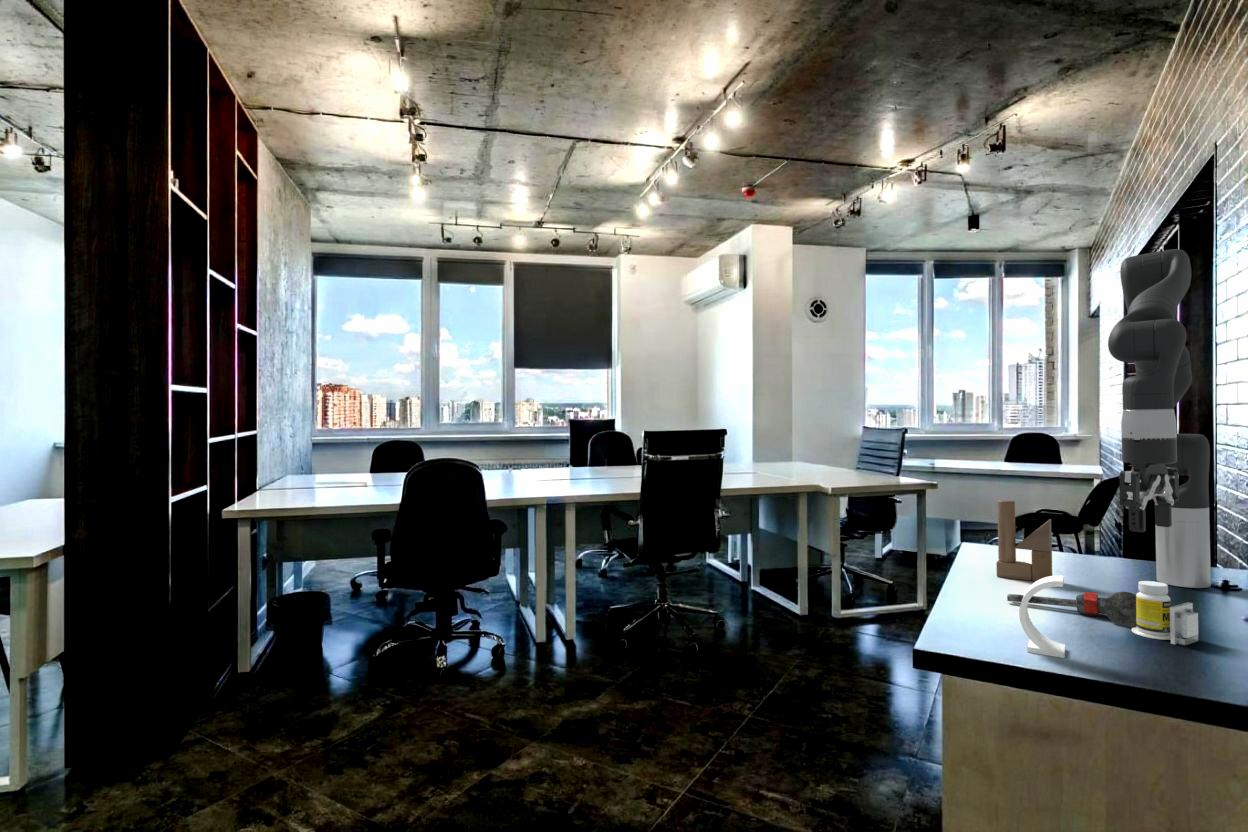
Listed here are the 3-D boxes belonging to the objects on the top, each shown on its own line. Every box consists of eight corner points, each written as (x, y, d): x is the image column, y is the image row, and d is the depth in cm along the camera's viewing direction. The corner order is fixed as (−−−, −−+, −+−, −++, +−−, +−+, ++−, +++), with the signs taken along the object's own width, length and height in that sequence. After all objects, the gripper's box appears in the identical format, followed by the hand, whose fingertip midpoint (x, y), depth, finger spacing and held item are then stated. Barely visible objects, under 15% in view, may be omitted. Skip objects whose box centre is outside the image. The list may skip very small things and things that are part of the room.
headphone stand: (1064, 658, 104) (1062, 581, 104) (1019, 650, 107) (1018, 576, 107) (1065, 649, 108) (1064, 575, 108) (1022, 642, 111) (1020, 571, 111)
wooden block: (1050, 583, 149) (1048, 503, 149) (996, 577, 156) (994, 500, 156) (1052, 580, 152) (1051, 502, 152) (999, 574, 159) (998, 499, 159)
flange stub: (1189, 637, 112) (1188, 602, 112) (1202, 640, 111) (1201, 604, 111) (1170, 643, 110) (1169, 607, 110) (1183, 646, 108) (1182, 609, 108)
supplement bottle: (1168, 638, 111) (1167, 588, 111) (1133, 632, 115) (1132, 583, 115) (1174, 632, 114) (1173, 583, 114) (1140, 626, 118) (1139, 578, 118)
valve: (1174, 624, 126) (1175, 633, 114) (1017, 608, 142) (1004, 614, 130) (1171, 590, 127) (1171, 595, 115) (1015, 578, 143) (1002, 581, 131)
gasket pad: (1142, 626, 118) (1142, 624, 118) (1183, 636, 113) (1183, 634, 113) (1124, 631, 116) (1124, 630, 116) (1164, 641, 110) (1164, 640, 110)
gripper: (1145, 434, 121) (1147, 522, 121) (1101, 436, 115) (1103, 530, 115) (1195, 434, 115) (1197, 528, 115) (1151, 437, 108) (1154, 536, 108)
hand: (1150, 529), depth 115 cm, fingers open, 8 cm apart
